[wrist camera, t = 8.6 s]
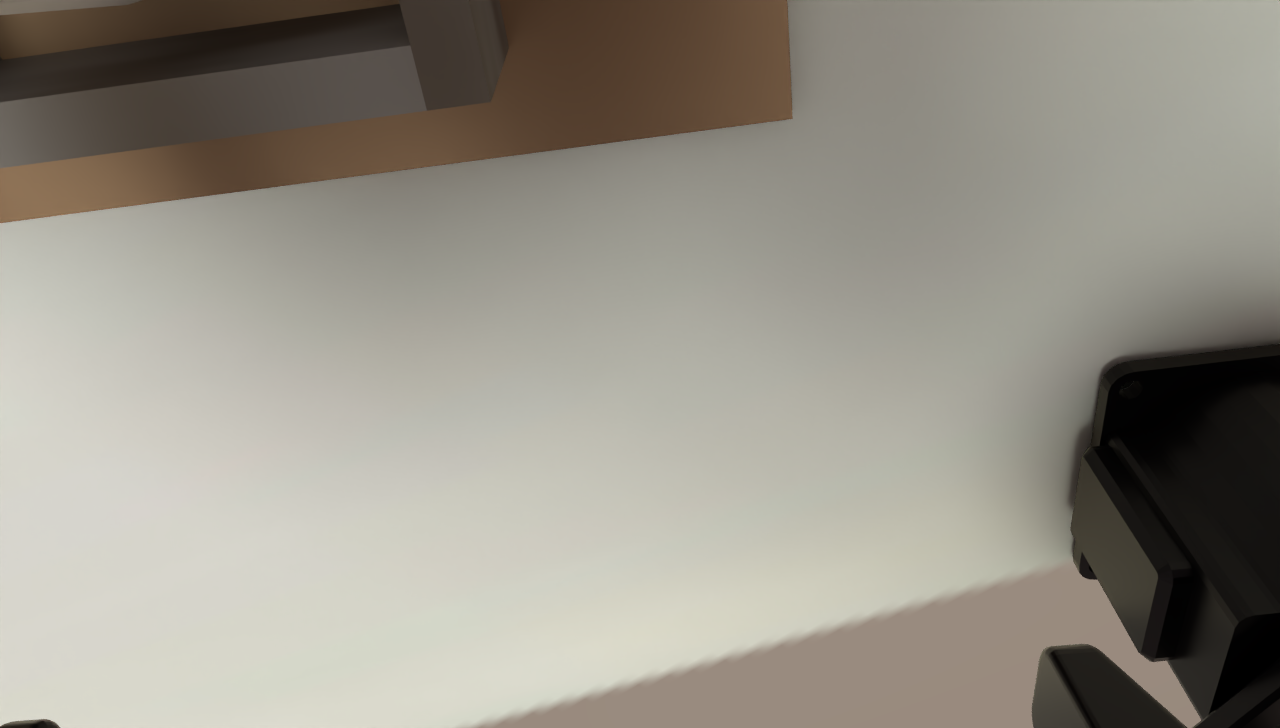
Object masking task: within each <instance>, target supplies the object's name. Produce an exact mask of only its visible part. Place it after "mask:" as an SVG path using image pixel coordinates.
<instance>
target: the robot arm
mask: <svg viewBox="0 0 1280 728" xmlns="http://www.w3.org/2000/svg"><path fill="white" fill-rule="evenodd" d="M1130 381H1134V382H1133V384H1131V385H1130V386H1129V387H1128V388H1125V389H1121V387H1122V386H1123V385H1124V384H1126V383H1127V382H1130ZM1071 533H1072V535H1073V536H1074V538H1075V540H1076V541H1075V547H1074V553H1073V561H1074V563H1075V565H1076V567H1077V569H1078V571H1079V573H1080V574H1081V575H1082V576H1083V577H1085V578H1087V579H1098V581H1099V583H1100V584H1101V586H1102V588H1103V590H1104V592H1105V593H1106V595H1107V597H1108V598H1109V600H1110V602H1111V604H1112V606H1113V608H1114V609H1115V611H1116V613H1117V615H1118V617H1119V618H1120V620H1121V622H1122V623H1123V625H1124V627H1125V629H1126V631H1127V633H1128V634H1129V636H1130V638H1131V640H1132V641H1133V643H1134V645H1135V647H1136V648H1137V650H1138V652H1139V653H1140V654H1141V655H1143V656H1144V657H1145V658H1146V659H1148V660H1149V661H1151V662H1156V661H1165V660H1166V661H1168V663H1169V665H1170V667H1171V668H1172V670H1173V672H1174V674H1175V675H1176V677H1177V679H1178V680H1179V682H1180V684H1181V686H1182V687H1183V689H1184V691H1185V692H1186V694H1187V696H1188V698H1189V699H1190V701H1191V703H1192V704H1193V706H1194V707H1195V709H1196V711H1197V713H1198V715H1199V716H1200V718H1201V721H1200V722H1199V723H1198V724H1196V725H1195V726H1194V727H1193V728H1280V344H1277V345H1269V346H1260V347H1251V348H1243V349H1234V350H1225V351H1217V352H1208V353H1200V354H1191V355H1182V356H1174V357H1165V358H1156V359H1148V360H1139V361H1131V362H1124V363H1121V364H1117V365H1116V366H1114V367H1112V368H1111V369H1109V370H1108V371H1107V373H1106V374H1105V375H1104V376H1103V379H1102V381H1101V385H1100V391H1099V397H1098V404H1097V410H1096V416H1095V422H1094V429H1093V435H1092V441H1091V447H1089V448H1088V449H1087V450H1086V452H1085V453H1084V455H1083V456H1082V458H1081V465H1080V471H1079V478H1078V484H1077V491H1076V497H1075V503H1074V510H1073V516H1072V523H1071ZM1032 720H1033V727H1034V728H1187V727H1186V726H1185V725H1184V724H1182V723H1181V722H1180V721H1179V720H1178V719H1177V718H1176V717H1174V716H1173V715H1172V714H1171V713H1170V712H1169V711H1168V710H1167V709H1166V708H1164V707H1163V706H1162V705H1161V704H1160V703H1159V702H1158V701H1157V700H1155V699H1154V698H1153V697H1152V696H1151V695H1150V694H1148V692H1146V691H1145V690H1144V689H1143V688H1142V687H1141V686H1140V685H1138V684H1137V683H1136V682H1135V681H1134V680H1133V679H1132V678H1130V677H1129V676H1128V675H1127V674H1126V673H1125V672H1124V671H1123V670H1122V669H1120V668H1119V667H1118V666H1117V665H1116V664H1115V663H1114V662H1113V661H1111V660H1110V659H1109V658H1108V657H1107V656H1106V655H1105V654H1103V653H1102V652H1101V651H1100V650H1098V649H1097V648H1095V647H1093V646H1091V645H1088V644H1075V645H1062V646H1050V647H1047V648H1045V649H1044V650H1043V652H1042V653H1041V656H1040V659H1039V666H1038V672H1037V678H1036V684H1035V690H1034V697H1033V703H1032ZM0 728H60V727H59V726H58V725H57V724H56V723H55V722H53V721H51V720H47V719H40V720H27V721H15V722H10V723H7V724H4V725H2V726H0Z"/></svg>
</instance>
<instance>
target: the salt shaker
mask: <svg viewBox="0 0 1280 728" xmlns="http://www.w3.org/2000/svg"><path fill="white" fill-rule="evenodd" d="M139 1H142V0H0V15H9V14H21V13H34V12H46V11H58V10H71V9H83V8H95V7H107V6H120V5H129V4H132V3H135V2H139Z"/></svg>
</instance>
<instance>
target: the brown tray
mask: <svg viewBox="0 0 1280 728" xmlns="http://www.w3.org/2000/svg"><path fill="white" fill-rule="evenodd" d="M786 119H792V98H791V75H790V52H789V30H788V7H787V0H142V1H139V2H135V3H132V4H129V5H120V6H107V7H95V8H83V9H71V10H58V11H46V12H34V13H21V14H9V15H0V223H4V222H12V221H19V220H27V219H35V218H42V217H50V216H57V215H65V214H72V213H80V212H88V211H95V210H103V209H110V208H118V207H126V206H133V205H141V204H148V203H156V202H164V201H171V200H179V199H186V198H194V197H202V196H209V195H217V194H224V193H232V192H240V191H247V190H255V189H262V188H270V187H278V186H285V185H293V184H300V183H308V182H316V181H323V180H331V179H338V178H346V177H354V176H361V175H369V174H376V173H384V172H392V171H399V170H407V169H414V168H422V167H429V166H437V165H445V164H452V163H460V162H467V161H475V160H483V159H490V158H498V157H505V156H513V155H521V154H528V153H536V152H543V151H551V150H559V149H566V148H574V147H581V146H589V145H597V144H604V143H612V142H619V141H627V140H635V139H642V138H650V137H657V136H665V135H673V134H680V133H688V132H695V131H703V130H711V129H718V128H726V127H733V126H741V125H748V124H756V123H764V122H771V121H779V120H786Z"/></svg>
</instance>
